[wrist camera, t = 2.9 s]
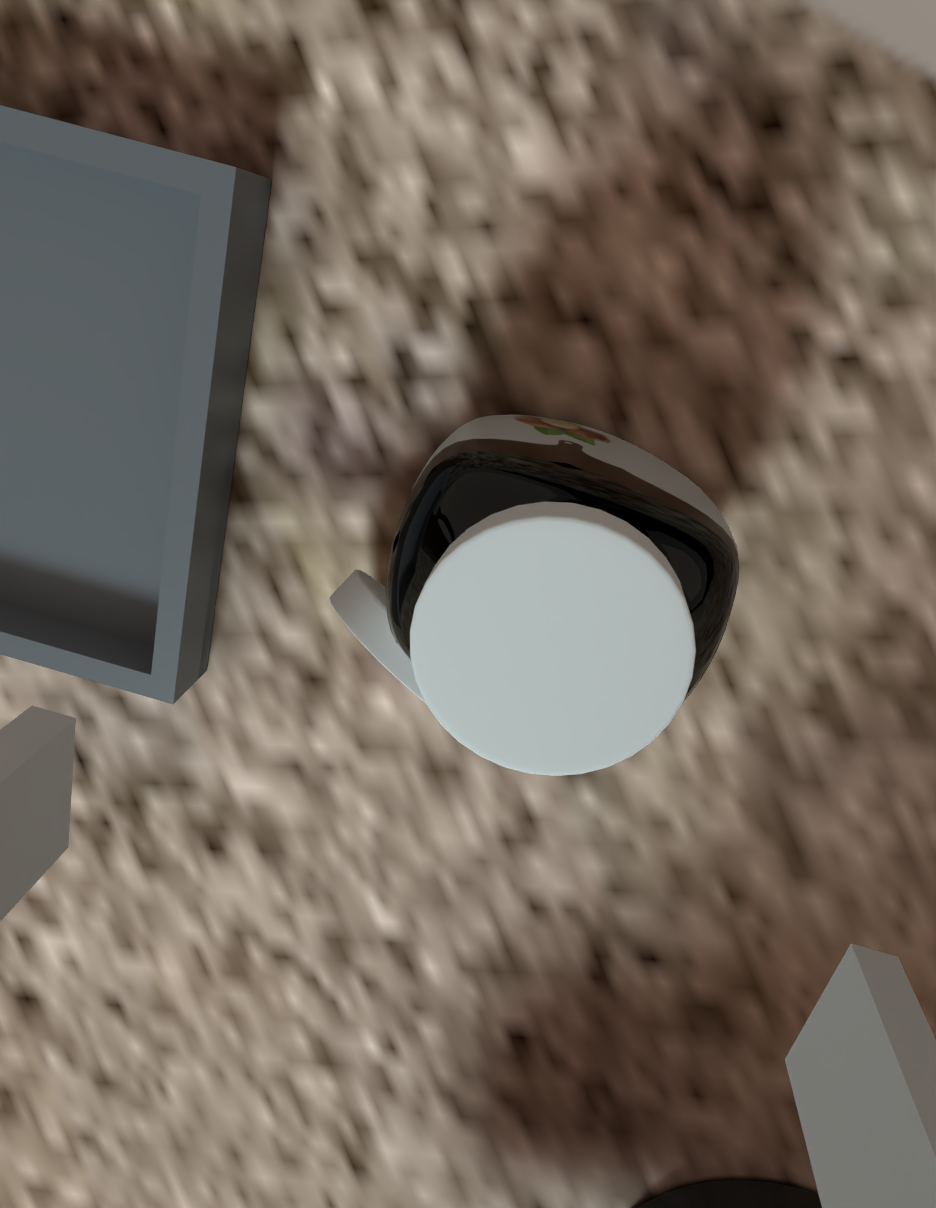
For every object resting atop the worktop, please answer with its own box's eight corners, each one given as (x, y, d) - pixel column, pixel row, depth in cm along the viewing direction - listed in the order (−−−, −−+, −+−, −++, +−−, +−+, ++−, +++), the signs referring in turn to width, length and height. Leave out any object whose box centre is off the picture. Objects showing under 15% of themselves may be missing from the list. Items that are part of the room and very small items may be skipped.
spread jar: (736, 471, 29) (825, 581, 18) (616, 733, 33) (630, 948, 22) (414, 359, 29) (310, 401, 18) (336, 634, 33) (215, 800, 22)
